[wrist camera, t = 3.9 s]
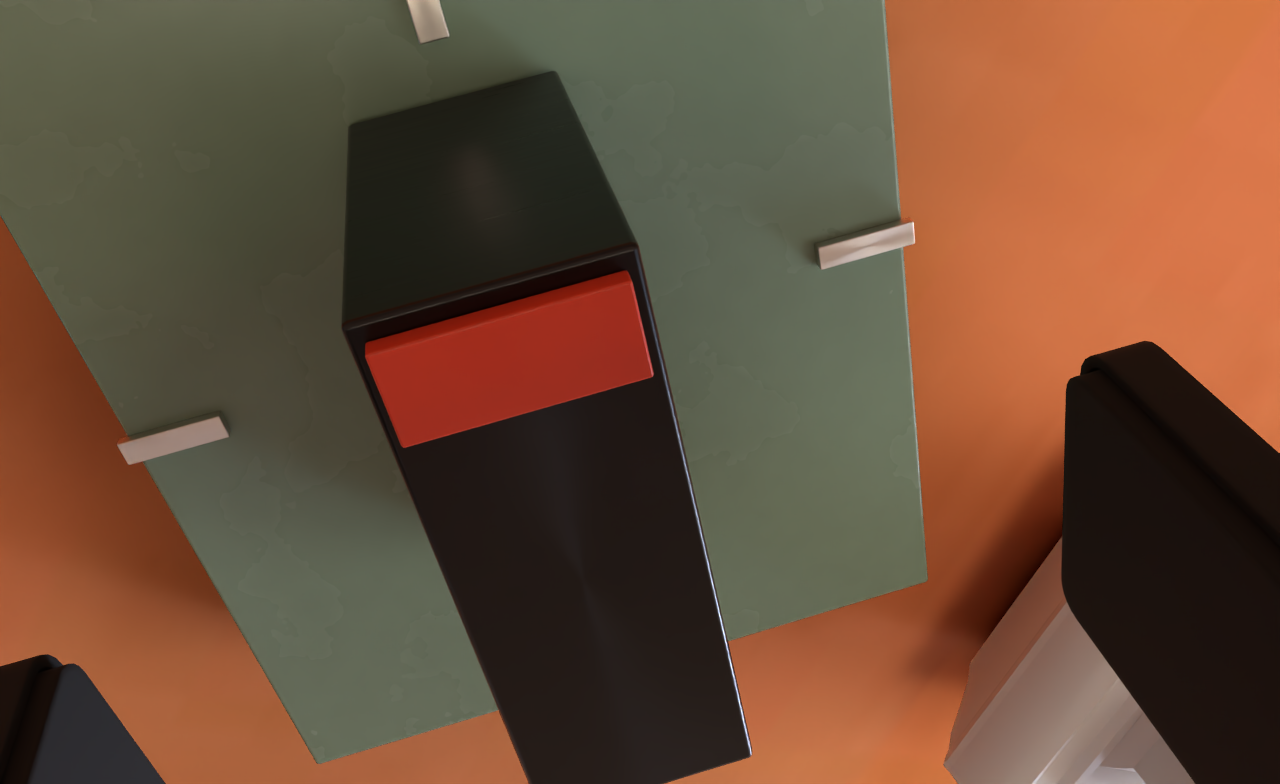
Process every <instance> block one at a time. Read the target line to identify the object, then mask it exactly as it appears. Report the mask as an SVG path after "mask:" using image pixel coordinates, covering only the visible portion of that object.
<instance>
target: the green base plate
mask: <svg viewBox="0 0 1280 784" xmlns="http://www.w3.org/2000/svg"><path fill="white" fill-rule="evenodd" d="M550 71H556V72H557V73H558V75H559V77H560V79H561V81H562V83H563V85H564V87H565V90H566V92H567V94H568V96H569V98H570V100H571V102H572V104H573V107H574V109H575V111H576V113H577V115H578V117H579V119H580V121H581V124H582V126H583V128H584V130H585V132H586V134H587V136H588V138H589V141H590V143H591V145H592V147H593V149H594V151H595V153H596V155H597V158H598V160H599V162H600V164H601V166H602V168H603V170H604V172H605V175H606V177H607V179H608V181H609V183H610V185H611V187H612V189H613V192H614V194H615V196H616V198H617V200H618V202H619V204H620V206H621V209H622V211H623V213H624V215H625V217H626V219H627V221H628V223H629V226H630V228H631V230H632V232H633V234H634V236H635V238H636V241H637V243H638V245H639V247H640V252H641V256H642V261H643V265H644V270H645V274H646V279H647V283H648V288H649V292H650V296H651V301H652V305H653V310H654V314H655V319H656V323H657V328H658V332H659V337H660V341H661V345H662V350H663V354H664V359H665V363H666V368H667V372H668V377H669V381H670V386H671V390H672V395H673V399H674V403H675V408H676V412H677V417H678V421H679V426H680V430H681V435H682V439H683V444H684V448H685V452H686V457H687V461H688V466H689V470H690V475H691V479H692V484H693V488H694V493H695V497H696V502H697V506H698V510H699V515H700V519H701V524H702V528H703V533H704V537H705V542H706V546H707V551H708V555H709V559H710V564H711V568H712V573H713V577H714V582H715V586H716V591H717V595H718V600H719V604H720V609H721V613H722V617H723V622H724V626H725V631H726V635H727V640H728V641H731V640H734V639H737V638H741V637H744V636H747V635H751V634H754V633H757V632H761V631H764V630H767V629H771V628H774V627H777V626H781V625H784V624H787V623H791V622H794V621H797V620H801V619H804V618H807V617H811V616H814V615H817V614H821V613H824V612H827V611H831V610H834V609H837V608H841V607H844V606H847V605H851V604H854V603H857V602H861V601H864V600H867V599H871V598H874V597H877V596H881V595H884V594H887V593H891V592H894V591H897V590H901V589H904V588H907V587H911V586H914V585H917V584H921V583H924V582H926V581H927V580H928V575H927V561H926V548H925V535H924V521H923V508H922V494H921V481H920V467H919V454H918V440H917V427H916V414H915V400H914V387H913V373H912V360H911V346H910V333H909V319H908V306H907V293H906V279H905V266H904V252H903V247H905V246H908V245H912V244H915V236H914V222H913V220H912V219H911V218H909V217H908V218H905V219H901V212H900V198H899V185H898V172H897V158H896V145H895V131H894V118H893V104H892V91H891V77H890V64H889V51H888V37H887V24H886V10H885V0H0V216H1V217H2V219H3V221H4V223H5V224H6V226H7V228H8V229H9V231H10V233H11V235H12V236H13V238H14V240H15V242H16V243H17V245H18V247H19V248H20V250H21V252H22V254H23V255H24V257H25V259H26V261H27V262H28V264H29V266H30V268H31V269H32V271H33V273H34V274H35V276H36V278H37V280H38V281H39V283H40V285H41V287H42V288H43V290H44V292H45V294H46V295H47V297H48V299H49V300H50V302H51V304H52V306H53V307H54V309H55V311H56V313H57V314H58V316H59V318H60V320H61V321H62V323H63V325H64V326H65V328H66V330H67V332H68V333H69V335H70V337H71V339H72V340H73V342H74V344H75V346H76V347H77V349H78V351H79V352H80V354H81V356H82V358H83V359H84V361H85V363H86V365H87V366H88V368H89V370H90V371H91V373H92V375H93V377H94V378H95V380H96V382H97V384H98V385H99V387H100V389H101V391H102V392H103V394H104V396H105V397H106V399H107V401H108V403H109V404H110V406H111V408H112V410H113V411H114V413H115V415H116V417H117V418H118V420H119V422H120V423H121V425H122V427H123V429H124V430H125V432H126V434H127V437H124V438H120V439H119V440H118V443H117V446H118V448H119V450H120V452H121V453H122V455H123V457H124V458H125V460H126V462H127V463H128V465H131V464H135V463H138V462H143V463H144V465H145V467H146V469H147V470H148V472H149V474H150V475H151V477H152V479H153V481H154V482H155V484H156V486H157V488H158V489H159V491H160V493H161V494H162V496H163V498H164V500H165V501H166V503H167V505H168V507H169V508H170V510H171V512H172V514H173V515H174V517H175V519H176V520H177V522H178V524H179V526H180V527H181V529H182V531H183V533H184V534H185V536H186V538H187V540H188V541H189V543H190V545H191V546H192V548H193V550H194V552H195V553H196V555H197V557H198V559H199V560H200V562H201V564H202V566H203V567H204V569H205V571H206V572H207V574H208V576H209V578H210V579H211V581H212V583H213V585H214V586H215V588H216V590H217V592H218V593H219V595H220V597H221V598H222V600H223V602H224V604H225V605H226V607H227V609H228V611H229V612H230V614H231V616H232V617H233V619H234V621H235V623H236V624H237V626H238V628H239V630H240V631H241V633H242V635H243V637H244V638H245V640H246V642H247V643H248V645H249V647H250V649H251V650H252V652H253V654H254V656H255V657H256V659H257V661H258V663H259V664H260V666H261V668H262V669H263V671H264V673H265V675H266V676H267V678H268V680H269V682H270V683H271V685H272V687H273V689H274V690H275V692H276V694H277V695H278V697H279V699H280V701H281V702H282V704H283V706H284V708H285V709H286V711H287V713H288V715H289V716H290V718H291V720H292V721H293V723H294V725H295V727H296V728H297V730H298V732H299V734H300V735H301V737H302V739H303V740H304V742H305V744H306V746H307V747H308V749H309V751H310V753H311V754H312V756H313V758H314V760H315V761H316V763H317V764H321V763H324V762H327V761H331V760H334V759H337V758H341V757H344V756H347V755H351V754H354V753H357V752H361V751H364V750H367V749H371V748H374V747H377V746H381V745H384V744H387V743H391V742H394V741H397V740H401V739H404V738H407V737H411V736H414V735H417V734H421V733H424V732H427V731H431V730H434V729H437V728H441V727H444V726H447V725H451V724H454V723H457V722H461V721H464V720H467V719H471V718H474V717H477V716H481V715H484V714H487V713H491V712H494V711H497V710H498V708H497V705H496V703H495V700H494V698H493V695H492V693H491V691H490V688H489V686H488V683H487V681H486V678H485V676H484V674H483V671H482V669H481V666H480V664H479V662H478V659H477V657H476V654H475V652H474V649H473V647H472V645H471V642H470V640H469V637H468V635H467V632H466V630H465V628H464V625H463V623H462V620H461V618H460V616H459V613H458V611H457V608H456V606H455V603H454V601H453V599H452V596H451V594H450V591H449V589H448V586H447V584H446V582H445V579H444V577H443V574H442V572H441V570H440V567H439V565H438V562H437V560H436V557H435V555H434V553H433V550H432V548H431V545H430V543H429V540H428V538H427V536H426V533H425V531H424V528H423V526H422V524H421V521H420V519H419V516H418V514H417V511H416V509H415V507H414V504H413V502H412V499H411V497H410V495H409V492H408V490H407V487H406V485H405V482H404V480H403V478H402V475H401V473H400V470H399V468H398V465H397V463H396V461H395V458H394V456H393V453H392V451H391V449H390V446H389V444H388V441H387V439H386V436H385V434H384V432H383V429H382V427H381V424H380V422H379V419H378V417H377V415H376V412H375V410H374V407H373V405H372V403H371V400H370V398H369V395H368V393H367V390H366V388H365V386H364V383H363V381H362V378H361V376H360V373H359V371H358V369H357V366H356V364H355V361H354V359H353V357H352V354H351V352H350V349H349V347H348V344H347V342H346V340H345V337H344V335H343V332H342V330H341V322H342V293H343V264H344V236H345V207H346V179H347V150H348V127H349V126H351V125H352V124H356V123H360V122H363V121H367V120H371V119H374V118H378V117H382V116H386V115H389V114H393V113H397V112H401V111H404V110H408V109H412V108H416V107H419V106H423V105H427V104H430V103H434V102H438V101H442V100H445V99H449V98H453V97H457V96H460V95H464V94H468V93H472V92H475V91H479V90H483V89H487V88H490V87H494V86H498V85H501V84H505V83H509V82H513V81H516V80H520V79H524V78H528V77H531V76H535V75H539V74H543V73H546V72H550Z"/></svg>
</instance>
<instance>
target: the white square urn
mask: <svg viewBox="0 0 1280 784" xmlns="http://www.w3.org/2000/svg"><path fill="white" fill-rule="evenodd" d="M1061 562H1062V537H1061V539H1060V540H1059V541H1058V543H1057V544H1056V545H1055V547H1054V548H1053V549H1052V551H1051V552H1050V554H1049V555H1048V556H1047V558H1046V559H1045V560H1044V562H1043V563H1042V565H1041V566H1040V567H1039V569H1038V570H1037V571H1036V573H1035V574H1034V576H1033V577H1032V578H1031V580H1030V581H1029V582H1028V584H1027V585H1026V586H1025V588H1024V589H1023V591H1022V592H1021V593H1020V595H1019V596H1018V597H1017V599H1016V600H1015V602H1014V603H1013V604H1012V606H1011V607H1010V608H1009V610H1008V611H1007V613H1006V614H1005V615H1004V617H1003V618H1002V619H1001V621H1000V622H999V623H998V625H997V626H996V628H995V629H994V630H993V632H992V633H991V634H990V636H989V637H988V639H987V640H986V641H985V643H984V644H983V645H982V647H981V648H980V650H979V651H978V652H977V654H976V655H975V656H974V658H973V659H972V660H971V662H970V664H969V676H968V682H967V685H966V689H965V692H964V695H963V698H962V701H961V704H960V707H959V710H958V713H957V716H956V719H955V722H954V726H953V729H952V732H951V737H950V744H949V750H948V753H947V755H946V758H945V761H944V764H943V765H944V767H945V768H946V769H947V770H948V771H949V772H950V773H951V775H952V776H953V777H954V779H955V780H956V782H957V783H958V784H1195V783H1194V781H1193V780H1192V779H1191V777H1190V776H1189V774H1188V773H1187V772H1186V770H1185V769H1184V768H1183V766H1182V765H1181V763H1180V762H1179V761H1178V759H1177V758H1176V756H1175V755H1174V754H1173V752H1172V751H1171V750H1170V748H1169V747H1168V745H1167V744H1166V743H1165V741H1164V740H1163V738H1162V737H1161V736H1160V734H1159V733H1158V732H1157V730H1156V729H1155V727H1154V726H1153V725H1152V723H1151V722H1150V720H1149V719H1148V718H1147V716H1146V715H1145V714H1144V712H1143V711H1142V709H1141V708H1140V707H1139V705H1138V704H1137V702H1136V701H1135V700H1134V698H1133V697H1132V696H1131V694H1130V693H1129V691H1128V690H1127V689H1126V687H1125V686H1124V684H1123V683H1122V682H1121V680H1120V679H1119V678H1118V676H1117V675H1116V673H1115V672H1114V671H1113V669H1112V668H1111V666H1110V665H1109V664H1108V662H1107V661H1106V660H1105V658H1104V657H1103V655H1102V654H1101V653H1100V651H1099V650H1098V648H1097V647H1096V646H1095V644H1094V643H1093V642H1092V640H1091V639H1090V637H1089V636H1088V635H1087V633H1086V632H1085V630H1084V629H1083V628H1082V626H1081V625H1080V624H1079V622H1078V621H1077V619H1076V618H1075V616H1074V615H1073V613H1072V612H1071V610H1070V608H1069V606H1068V603H1067V601H1066V598H1065V595H1064V592H1063V588H1062V582H1061Z"/></svg>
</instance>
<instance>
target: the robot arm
mask: <svg viewBox="0 0 1280 784" xmlns="http://www.w3.org/2000/svg"><path fill="white" fill-rule="evenodd" d="M1061 582H1062V588H1063V592H1064V595H1065V598H1066V601H1067V603H1068V606H1069V608H1070V610H1071V612H1072V613H1073V615H1074V616H1075V618H1076V619H1077V621H1078V622H1079V624H1080V625H1081V626H1082V628H1083V629H1084V630H1085V632H1086V633H1087V635H1088V636H1089V637H1090V639H1091V640H1092V642H1093V643H1094V644H1095V646H1096V647H1097V648H1098V650H1099V651H1100V653H1101V654H1102V655H1103V657H1104V658H1105V660H1106V661H1107V662H1108V664H1109V665H1110V666H1111V668H1112V669H1113V671H1114V672H1115V673H1116V675H1117V676H1118V678H1119V679H1120V680H1121V682H1122V683H1123V684H1124V686H1125V687H1126V689H1127V690H1128V691H1129V693H1130V694H1131V696H1132V697H1133V698H1134V700H1135V701H1136V702H1137V704H1138V705H1139V707H1140V708H1141V709H1142V711H1143V712H1144V714H1145V715H1146V716H1147V718H1148V719H1149V720H1150V722H1151V723H1152V725H1153V726H1154V727H1155V729H1156V730H1157V732H1158V733H1159V734H1160V736H1161V737H1162V738H1163V740H1164V741H1165V743H1166V744H1167V745H1168V747H1169V748H1170V750H1171V751H1172V752H1173V754H1174V755H1175V756H1176V758H1177V759H1178V761H1179V762H1180V763H1181V765H1182V766H1183V768H1184V769H1185V770H1186V772H1187V773H1188V774H1189V776H1190V777H1191V779H1192V780H1193V781H1194V783H1195V784H1280V453H1278V452H1277V451H1276V450H1275V449H1274V448H1272V447H1271V446H1270V445H1269V444H1268V443H1267V442H1266V441H1265V440H1263V439H1262V438H1261V437H1260V436H1259V435H1258V434H1257V433H1256V432H1255V431H1253V430H1252V429H1251V428H1250V427H1249V426H1248V425H1247V424H1246V423H1244V422H1243V421H1242V420H1241V419H1240V418H1239V417H1238V416H1237V415H1235V414H1234V413H1233V412H1232V411H1231V410H1230V409H1229V408H1228V407H1227V406H1225V405H1224V404H1223V403H1222V402H1221V401H1220V400H1219V399H1218V398H1216V397H1215V396H1214V395H1213V394H1212V393H1211V392H1210V391H1209V390H1207V389H1206V388H1205V387H1204V386H1203V385H1202V384H1201V383H1200V382H1198V381H1197V380H1196V379H1195V378H1194V377H1193V376H1192V375H1191V374H1190V373H1188V372H1187V371H1186V370H1185V369H1184V368H1183V367H1182V366H1181V365H1179V364H1178V363H1177V362H1176V361H1175V360H1174V359H1173V358H1172V357H1170V356H1169V355H1168V354H1167V353H1166V352H1165V351H1164V350H1163V349H1162V348H1160V347H1159V346H1157V345H1156V344H1154V343H1153V342H1148V341H1143V342H1139V343H1136V344H1132V345H1129V346H1125V347H1121V348H1118V349H1114V350H1111V351H1107V352H1104V353H1100V354H1097V355H1093V356H1090V357H1088V358H1087V359H1085V361H1084V362H1083V364H1082V366H1081V373H1080V376H1076V377H1073V378H1071V379H1070V380H1069V382H1068V384H1067V388H1066V412H1065V449H1064V487H1063V525H1062V562H1061ZM0 784H165V782H164V781H163V779H162V778H161V777H160V775H159V774H158V773H157V771H156V770H155V768H154V767H153V766H152V764H151V763H150V762H149V760H148V759H147V757H146V756H145V755H144V753H143V752H142V750H141V749H140V748H139V746H138V745H137V744H136V742H135V741H134V739H133V738H132V737H131V735H130V734H129V732H128V731H127V730H126V728H125V727H124V726H123V724H122V723H121V721H120V720H119V719H118V717H117V716H116V714H115V713H114V712H113V710H112V709H111V708H110V706H109V705H108V703H107V702H106V701H105V699H104V698H103V697H102V695H101V694H100V692H99V691H98V690H97V688H96V687H95V685H94V684H93V683H92V681H91V680H90V679H89V677H88V676H87V674H86V673H85V672H84V671H83V670H82V669H81V668H80V666H78V665H76V664H67V665H62V664H61V663H60V662H59V661H58V660H57V659H56V658H55V657H53V656H50V655H48V654H47V655H39V656H36V657H32V658H29V659H25V660H22V661H18V662H15V663H11V664H8V665H4V666H0Z"/></svg>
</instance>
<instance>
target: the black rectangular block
mask: <svg viewBox="0 0 1280 784" xmlns="http://www.w3.org/2000/svg"><path fill="white" fill-rule="evenodd" d="M341 330H342V332H343V335H344V337H345V340H346V342H347V344H348V347H349V349H350V352H351V354H352V357H353V359H354V361H355V364H356V366H357V369H358V371H359V373H360V376H361V378H362V381H363V383H364V386H365V388H366V390H367V393H368V395H369V398H370V400H371V403H372V405H373V407H374V410H375V412H376V415H377V417H378V419H379V422H380V424H381V427H382V429H383V432H384V434H385V436H386V439H387V441H388V444H389V446H390V449H391V451H392V453H393V456H394V458H395V461H396V463H397V465H398V468H399V470H400V473H401V475H402V478H403V480H404V482H405V485H406V487H407V490H408V492H409V495H410V497H411V499H412V502H413V504H414V507H415V509H416V511H417V514H418V516H419V519H420V521H421V524H422V526H423V528H424V531H425V533H426V536H427V538H428V540H429V543H430V545H431V548H432V550H433V553H434V555H435V557H436V560H437V562H438V565H439V567H440V570H441V572H442V574H443V577H444V579H445V582H446V584H447V586H448V589H449V591H450V594H451V596H452V599H453V601H454V603H455V606H456V608H457V611H458V613H459V616H460V618H461V620H462V623H463V625H464V628H465V630H466V632H467V635H468V637H469V640H470V642H471V645H472V647H473V649H474V652H475V654H476V657H477V659H478V662H479V664H480V666H481V669H482V671H483V674H484V676H485V678H486V681H487V683H488V686H489V688H490V691H491V693H492V695H493V698H494V700H495V703H496V705H497V708H498V710H499V712H500V715H501V717H502V720H503V722H504V724H505V727H506V729H507V732H508V734H509V737H510V739H511V741H512V744H513V746H514V749H515V751H516V753H517V756H518V758H519V761H520V763H521V766H522V768H523V770H524V773H525V775H526V778H527V780H528V783H529V784H664V783H667V782H671V781H674V780H677V779H680V778H684V777H687V776H690V775H693V774H697V773H700V772H703V771H706V770H710V769H713V768H716V767H720V766H723V765H726V764H729V763H733V762H736V761H739V760H742V759H746V758H749V757H750V756H751V755H752V747H751V742H750V738H749V733H748V729H747V724H746V720H745V716H744V711H743V707H742V702H741V698H740V693H739V689H738V684H737V680H736V675H735V671H734V666H733V662H732V658H731V653H730V649H729V644H728V640H727V635H726V631H725V626H724V622H723V617H722V613H721V609H720V604H719V600H718V595H717V591H716V586H715V582H714V577H713V573H712V568H711V564H710V559H709V555H708V551H707V546H706V542H705V537H704V533H703V528H702V524H701V519H700V515H699V510H698V506H697V502H696V497H695V493H694V488H693V484H692V479H691V475H690V470H689V466H688V461H687V457H686V452H685V448H684V444H683V439H682V435H681V430H680V426H679V421H678V417H677V412H676V408H675V403H674V399H673V395H672V390H671V386H670V381H669V377H668V372H667V368H666V363H665V359H664V354H663V350H662V345H661V341H660V337H659V332H658V328H657V323H656V319H655V314H654V310H653V305H652V301H651V296H650V292H649V288H648V283H647V279H646V274H645V270H644V265H643V261H642V256H641V252H640V247H639V245H638V243H637V241H636V238H635V236H634V234H633V232H632V230H631V228H630V226H629V223H628V221H627V219H626V217H625V215H624V213H623V211H622V209H621V206H620V204H619V202H618V200H617V198H616V196H615V194H614V192H613V189H612V187H611V185H610V183H609V181H608V179H607V177H606V175H605V172H604V170H603V168H602V166H601V164H600V162H599V160H598V158H597V155H596V153H595V151H594V149H593V147H592V145H591V143H590V141H589V138H588V136H587V134H586V132H585V130H584V128H583V126H582V124H581V121H580V119H579V117H578V115H577V113H576V111H575V109H574V107H573V104H572V102H571V100H570V98H569V96H568V94H567V92H566V90H565V87H564V85H563V83H562V81H561V79H560V77H559V75H558V73H557V72H556V71H550V72H546V73H543V74H539V75H535V76H531V77H528V78H524V79H520V80H516V81H513V82H509V83H505V84H501V85H498V86H494V87H490V88H487V89H483V90H479V91H475V92H472V93H468V94H464V95H460V96H457V97H453V98H449V99H445V100H442V101H438V102H434V103H430V104H427V105H423V106H419V107H416V108H412V109H408V110H404V111H401V112H397V113H393V114H389V115H386V116H382V117H378V118H374V119H371V120H367V121H363V122H360V123H356V124H352V125H351V126H349V127H348V150H347V179H346V207H345V236H344V264H343V293H342V322H341Z"/></svg>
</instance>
